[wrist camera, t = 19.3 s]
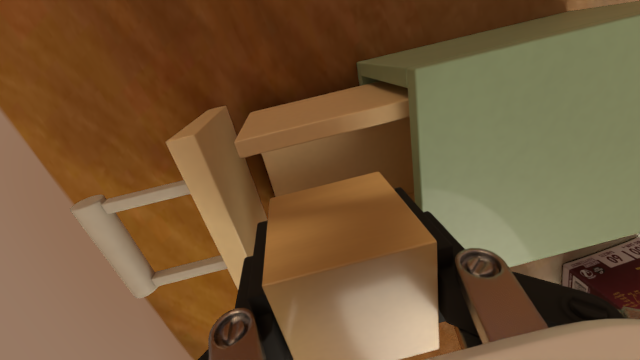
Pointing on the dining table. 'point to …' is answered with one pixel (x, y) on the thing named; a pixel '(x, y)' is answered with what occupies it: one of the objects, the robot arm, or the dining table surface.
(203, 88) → the dining table surface
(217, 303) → the dining table surface
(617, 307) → the supplement box
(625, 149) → the cabinet
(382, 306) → the block
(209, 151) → the drawer
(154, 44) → the dining table surface
